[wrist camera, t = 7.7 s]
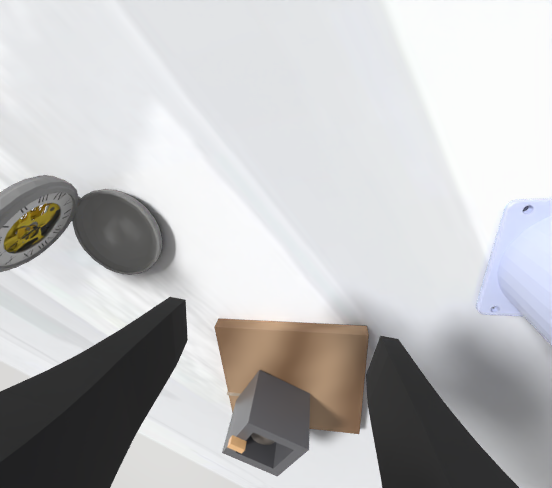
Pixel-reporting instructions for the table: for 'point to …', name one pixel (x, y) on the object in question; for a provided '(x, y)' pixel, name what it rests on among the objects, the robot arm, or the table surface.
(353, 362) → the board
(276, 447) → the grey hollow cube
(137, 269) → the pocket watch
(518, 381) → the table surface
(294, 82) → the table surface
